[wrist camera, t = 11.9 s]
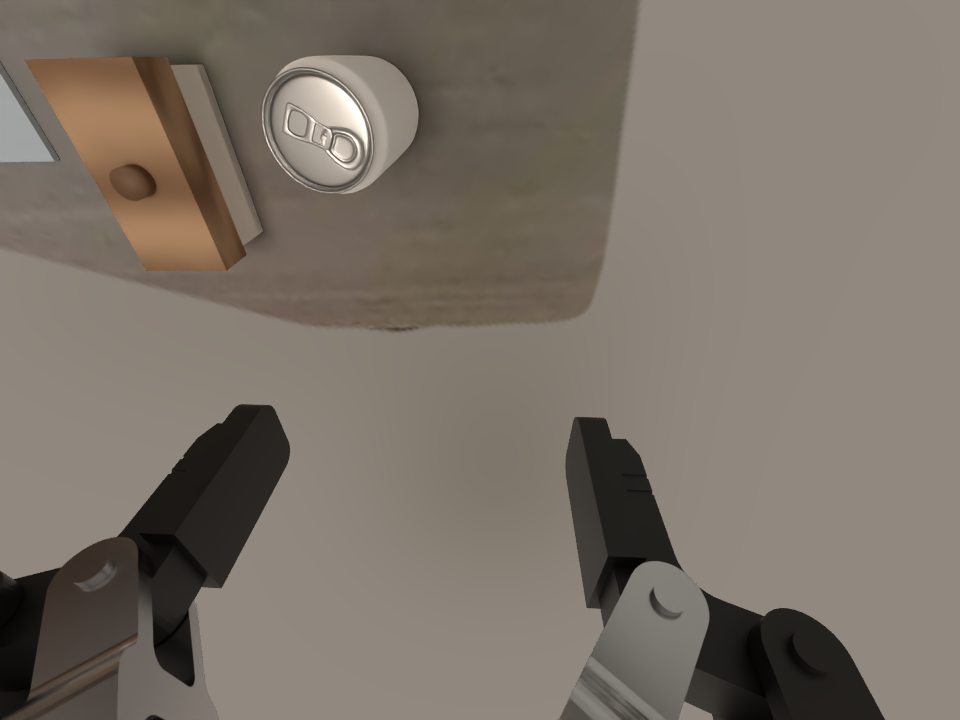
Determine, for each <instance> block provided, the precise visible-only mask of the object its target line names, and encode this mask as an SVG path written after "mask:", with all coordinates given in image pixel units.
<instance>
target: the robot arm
mask: <svg viewBox="0 0 960 720" xmlns="http://www.w3.org/2000/svg"><path fill="white" fill-rule="evenodd" d="M289 456H290V446H289V442H288V439H287V437H286V435H285V433H284V430H283V428H282V425H281V423H280V421H279V419H278V416H277V414H276V411H275V409H274V408H273V407H272V406H270V405H246V404H241V405H238V406H236V407H235V408H234V409H233V411H232V412H231V413H230V414H229V416H228V417H227V418H226V420H225V421H224V422H223V423H222V424H220V423H217V424H216V425H215V426H213V427H212V428H210V429H209V430H208V431H206V432H205V433H204V434H202V435H201V436H200V437H198V438H197V439H196V441H195V442H194V443H193V444H192V446H191V447H190V448H189V449H188V450H187V452H186V453H185V454H184V458H183V459H180V461H179V462H178V463H177V464H176V466H175V467H174V468H173V469H172V473H171V474H168V475H167V477H166V478H165V479H164V480H163V481H162V483H161V484H160V485H159V487H158V488H157V489H156V490H155V492H154V493H153V494H152V495H151V496H150V498H149V499H148V500H147V501H146V503H145V504H144V505H143V506H142V508H141V509H140V510H139V511H138V512H137V514H136V515H135V516H134V517H133V519H132V520H131V521H130V522H129V524H128V525H127V526H126V527H125V529H124V530H123V531H122V532H121V533H120V534H119V535H118V536H117V537H114V538H109V539H105V540H102V541H99V542H97V543H95V544H93V545H91V546H89V547H87V548H85V549H84V550H82V551H80V552H79V553H78V554H76V555H75V556H73V557H72V558H71V559H70V560H69V561H67V563H65V564H64V565H63V566H62V567H61V568H57V569H53V570H49V571H45V572H41V573H37V574H33V575H29V576H26V577H21V578H17V579H12V578H10V577H9V576H7V575H6V574H4V573H3V572H1V571H0V720H219V718H218V714H217V711H216V709H215V706H214V704H213V702H212V700H211V699H210V697H209V694H208V692H207V688H206V683H205V675H204V666H203V657H202V648H201V639H200V630H199V621H198V612H197V606H196V603H195V601H194V599H195V597H196V595H197V594H198V592H199V590H200V588H201V587H209V588H222V586H223V584H224V583H225V580H226V579H227V577H228V575H229V573H230V571H231V569H232V567H233V565H234V564H235V562H236V560H237V558H238V556H239V554H240V552H241V551H242V549H243V547H244V545H245V543H246V541H247V539H248V537H249V535H250V534H251V532H252V530H253V528H254V526H255V524H256V522H257V520H258V519H259V517H260V515H261V513H262V511H263V509H264V507H265V505H266V503H267V502H268V500H269V498H270V496H271V494H272V492H273V490H274V488H275V486H276V485H277V483H278V481H279V479H280V477H281V475H282V473H283V471H284V469H285V468H286V465H287V463H288V460H289ZM646 476H647V474H646V472H645V469H644V466H643V463H642V461H641V458H640V455H639V454H638V453H637V452H636V451H635V449H634V448H633V447H632V446H631V445H630V444H629V442H628V441H627V440H626V439H612V437H611V434H610V430H609V427H608V424H607V421H606V419H604V418H592V417H591V418H590V417H575V418H574V421H573V426H572V430H571V435H570V439H569V445H568V449H567V453H566V479H567V485H568V491H569V498H570V504H571V511H572V517H573V524H574V530H575V536H576V542H577V549H578V555H579V562H580V568H581V574H582V581H583V587H584V594H585V600H586V606H587V608H599V609H601V613H602V620H603V625H604V629H603V631H602V633H601V635H600V637H599V639H598V641H597V643H596V645H595V647H594V649H593V651H592V653H591V655H590V657H589V659H588V661H587V663H586V665H585V667H584V669H583V671H582V673H581V675H580V677H579V679H578V681H577V683H576V685H575V687H574V689H573V691H572V693H571V695H570V697H569V699H568V701H567V703H566V705H565V707H564V709H563V711H562V713H561V715H560V717H559V719H558V720H678V719H679V715H680V712H681V709H682V706H683V703H684V701H685V702H687V703H689V704H691V705H694V706H696V707H698V708H700V709H702V710H704V711H707V712H709V713H711V714H712V716H713V719H714V720H885V719H884V717H883V715H882V714H881V712H880V710H879V708H878V706H877V704H876V702H875V700H874V698H873V697H872V695H871V693H870V691H869V689H868V687H867V686H866V684H865V682H864V680H863V678H862V676H861V674H860V672H859V671H858V669H857V667H856V665H855V663H854V661H853V659H852V658H851V656H850V654H849V653H848V651H847V650H846V649H845V647H844V646H843V644H842V643H841V642H840V641H839V640H838V639H837V638H836V637H835V635H834V634H833V633H832V632H831V631H829V630H828V629H827V628H826V627H825V626H824V625H822V624H821V623H820V622H818V621H817V620H815V619H813V618H812V617H810V616H808V615H806V614H804V613H802V612H799V611H796V610H792V609H788V608H779V609H774V610H772V611H770V612H768V613H767V614H766V615H765V616H762V615H759V614H756V613H754V612H751V611H749V610H746V609H743V608H740V607H738V606H735V605H733V604H730V603H727V602H725V601H722V600H720V599H718V598H715V597H713V596H711V595H710V594H708V593H706V592H705V591H704V590H702V589H701V588H699V587H698V586H697V584H696V583H695V582H694V581H693V580H692V579H691V578H690V577H689V576H688V575H687V574H686V573H685V572H684V571H683V570H682V568H681V566H680V565H679V563H678V561H677V559H676V556H675V554H674V551H673V548H672V546H671V543H670V540H669V537H668V534H667V531H666V528H665V526H664V523H663V520H662V517H661V514H660V512H659V508H658V506H657V503H656V500H655V497H654V495H652V489H651V486H650V483H649V480H648V479H647V477H646Z"/></svg>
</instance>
